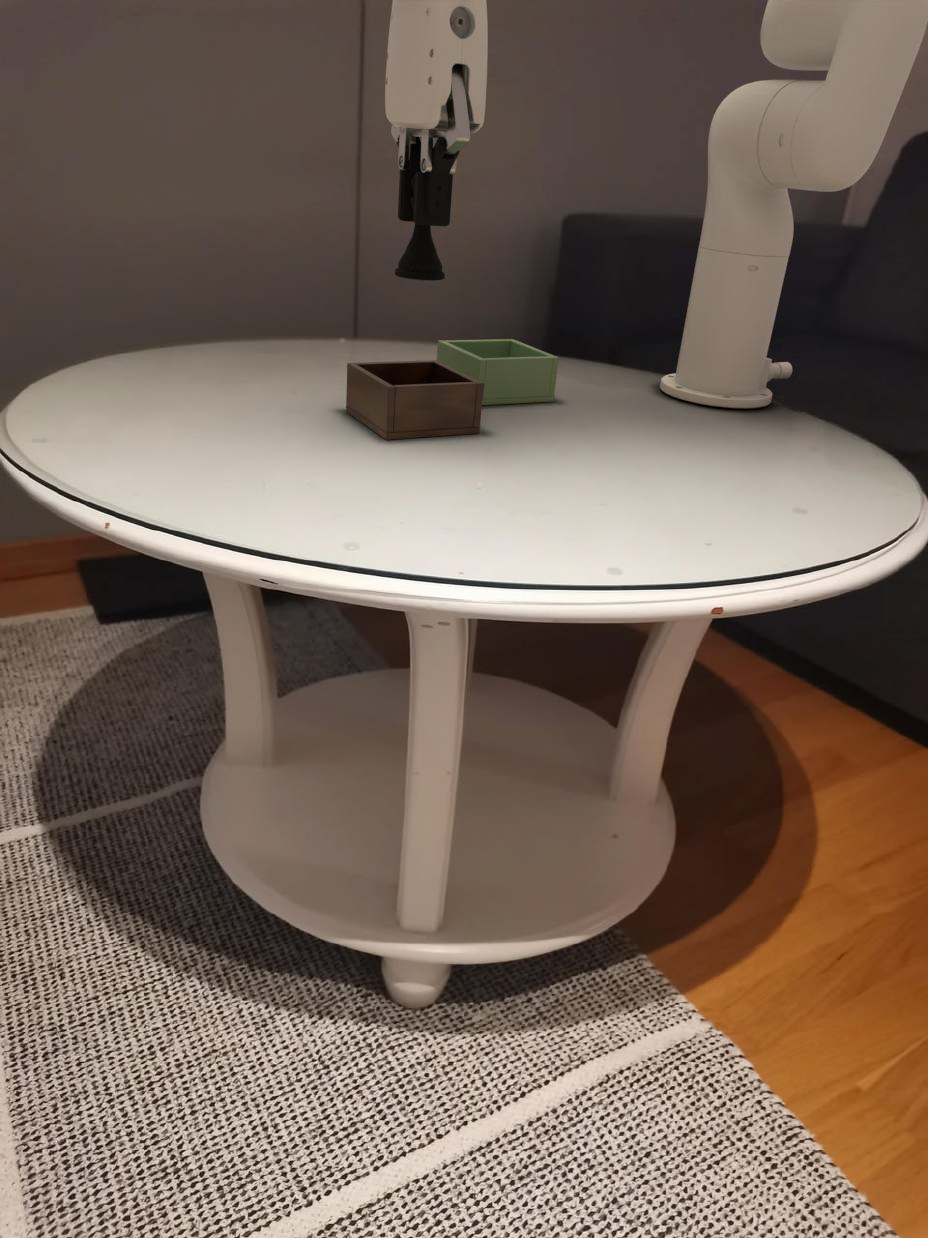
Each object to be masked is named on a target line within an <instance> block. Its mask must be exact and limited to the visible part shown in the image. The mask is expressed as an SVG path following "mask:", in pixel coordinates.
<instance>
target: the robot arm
mask: <svg viewBox="0 0 928 1238" xmlns="http://www.w3.org/2000/svg"><path fill="white" fill-rule="evenodd" d="M389 19H390V21H389V29H388V31H389V32H388V39H387V40H388V41H387V51H386V52H387V53H386V65H385V66H386V67H385V84H384V85H385V86H384V87H385V88H384V110H385V116H386V119H387V120H388V121H389V123H390V124H391V128H390V133H391V136H392V138H393V139H394V141H395V143H396V145H397V148H398V155H397V156H398V157H397V165H398V169H399V182H398V184H399V185H398V201H397V203H398V205H397V217H398V220H399V221H401V222H411V223H414V225H415V224H417V225H426V226H431V227H448V226H449V225H450V223H451V213H452V211H451V209H452V197H453V196H452V195H453V183H454V182H453V180H454V175H456V172H457V163H458V156H459V155H460V152H461V151H462V150H463V149H464V148H465V147H466V146H467V145H468V144H469V143H470V141H471V134H475V133H477V132H478V131H479V130H481V128H482V127H483V125H484V122H485V115H486V104H487V86H488V84H487V83H488V55H489V54H488V53H489V52H488V50H489V49H488V48H489V46H488V45H489V44H488V43H489V36H488V35H489V33H488V32H489V30H488V29H489V27H488V25H489V23H488V4H487V0H392V4H391V12H390V18H389ZM927 27H928V0H767V4H766V5H765V10H764V13H763V17H762V22H761V26H760V33H759V42H760V48H761V50H762V51H761V52H762V54H763V56H764V57H765V58H766V60H767V61H768V62H769V63H771V64H772V65H774V66H776V67H779V68H781V69H785V70H790V71H791V70H792V71H827V74H826V77H825V79H823V80H814V79H813V80H812V79H811V80H807V79H765V80H757V81H753V82H749V83H745V84H743V85H741V86H739V87H737V88H735V89H734V90H732V91H731V92H730V93H729V94H727V96H726V97H725V98H724V99H723V100H722V101H721V102H720V104H719V106H718V107H717V108H716V111H715V113H714V114H713V117H712V120H711V123H710V127H709V132H708V138H707V139H708V140H707V189H706V199H705V209H704V213H703V214H704V215H703V222H702V227H701V232H700V233H701V234H700V238H699V239H700V240H699V244H698V247H697V248H698V249H697V255H696V259H695V264H694V265H695V266H694V271H693V277H692V283H691V288H690V292H689V293H690V294H689V298H688V305H687V309H686V310H687V312H686V314H685V315H686V316H685V321H684V326H683V332H682V336H681V337H682V338H681V343H680V348H679V354H678V360H677V365H676V371H675V373H669V374H666V375H664V376H663V377H661V378H660V382H659V383H660V384H659V389H660V391H662V392H663V393H664V394H666V395H668V396H670V397H673V398H675V399H679V400H682V401H686V402H690V403H694V404H698V405H704V406H710V407H717V408H727V409H729V408H730V409H758V408H762V407H767V406H768V405H770V404H771V403H772V400H773V392H772V390H771V389H769V388H768V387H767V383H769V382H770V381H771V380H788V379H789V378H790V377H791V376H792V374H793V366H792V364H791V363H790V362H789V361H783V362H782V361H779V362H772V361H773V359H772V358H769V357H768V352H769V347H770V343H771V338H772V333H773V330H774V325H775V321H776V315H777V311H778V306H779V302H780V298H781V293H782V288H783V285H784V279H785V275H786V271H787V266H788V262H789V257H790V255H791V250H792V246H793V239H794V231H795V228H794V215H793V208H792V203H791V199H790V196H789V195H790V194H789V191H788V189H791V190H800V191H808V192H809V191H811V192H820V193H821V192H822V193H823V192H825V193H832V192H839V191H843V190H845V189H847V188H850V187H851V186H853V185H855V184H856V183H857V182H858V181H859V180H861V179H862V178H863V176H864V175H865V174H866V172H868V170H869V169H870V167H871V165H872V164H873V162H874V160H875V158H876V157H877V154H878V152H879V150H880V148H881V146H882V143H883V141H884V139H885V137H886V134H887V131H888V129H889V126H890V124H891V122H892V118H893V116H894V114H895V111H896V108H897V106H898V104H899V101H900V99H901V96H902V93H903V91H904V88H905V86H906V84H907V82H908V78H909V76H910V74H911V71H912V68H913V66H914V63H915V61H916V58H917V56H918V53H919V50H920V48H921V44H922V42H923V39H924V37H925V33H926V29H927ZM435 139H436V141H435ZM415 174H416V179H415V198H414V210H413V207H412V204H411V197H413V195H414V190H413V187H412V179H413V177H414V175H415Z"/></svg>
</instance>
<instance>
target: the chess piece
mask: <svg viewBox="0 0 928 1238" xmlns="http://www.w3.org/2000/svg"><path fill="white" fill-rule="evenodd" d="M415 179H416V174H415V175H414V177H413V179H412V187H413V190H414V195H413V197H411V204H412V207H413V210H414V198H415ZM431 227H432V226H426V225H417V224H415V223H414V227H413V232H412V235H411V238H410V239H409V242H408V244H407V246H406V248H405V250H404V252H403V254H402V255H401V257H400V259H399V261H398V263H397V267H396V268H395V269H394V275H395V276H396V277H399V278H403V279H406V280H407V279H408V280H416V281H443V280H445V278H446V274H445V271H443V264H442V262H441V259H440V257H439V256H438V251H437V249H436V246H435V243H434V240H433V237H432V229H431Z"/></svg>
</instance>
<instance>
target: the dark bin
mask: <svg viewBox="0 0 928 1238" xmlns="http://www.w3.org/2000/svg"><path fill="white" fill-rule="evenodd" d="M483 388H484V383H482V382H480V381H478V380H476V379H474V378H472V377H470V376H468V375H466V374H464V373H462V372H460V371H458V370H456V369H454V368H452V367H449V366H447V365H445V364H443V363H441V362H439V361H437V359H435V360H401V361H400V360H398V361H397V360H396V361H365V362H364V361H363V362H347V363H346V396H345V397H346V398H345V399H346V401H345V403H346V404H345V412H346V413H347V414H349V415H350V416H351V417H353V418H354V419H356V420H357V421H358V422H360V423H362V424H363V425H364V426H366V427H367V428H368V429H370V430H372V431H373V432H375V433H376V434H377V435H378V436H380V437H382V438H383V439H384V440H385V441H388V440H402V439H419V438H431V437H432V438H433V437H444V436H445V437H446V436H461V435H472V434H473V435H475V434H480V431H481V420H482V409H483V405H482V399H483Z"/></svg>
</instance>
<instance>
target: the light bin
mask: <svg viewBox="0 0 928 1238" xmlns="http://www.w3.org/2000/svg"><path fill="white" fill-rule="evenodd" d="M436 350H437V352H436V360H437V361H439V362H441V363H443V364H445V365H447V366H449V367H452V368H454V369H456V370H458V371H460V372H462V373H464V374H466V375H468V376H470V377H472V378H474V379H476V380H478V381H480V382H482V383H484V388H483V399H482V406H492V405H493V406H494V405H495V406H496V405H513V404H530V403H544V402H546V403H549V402H554V401H555V393H556V384H557V376H558V369H559V360H560V357H559V356H557V355H553V354H551V353H549V352H547V351H545V350H544V351H543V350H541V349H539V348H536V347H534V346H531V345H529V344H526V343H523V342H521V341H520V340H516V339H513V338H505V339H503V338H502V339H500V338H499V339H453V340H452V339H450V340H448V339H447V340H445V339H444V340H437V349H436Z"/></svg>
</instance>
